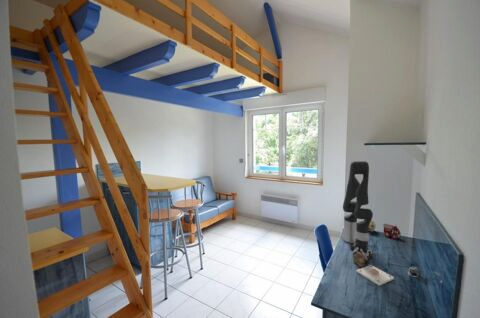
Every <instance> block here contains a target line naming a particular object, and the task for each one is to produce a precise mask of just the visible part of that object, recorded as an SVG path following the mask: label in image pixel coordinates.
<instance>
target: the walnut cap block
mask: <svg viewBox="0 0 480 318" xmlns="http://www.w3.org/2000/svg"><path fill="white" fill-rule="evenodd" d="M365 260H366V258H365V256H364V255H363V254H361V253H360V252H358V251H357V252H356V253H355V254H354V258H353V263H354V264H355V263H356V265H357V266H359V267H361V268H364V267H366V266H367V265H365Z"/></svg>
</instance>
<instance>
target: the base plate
mask: <svg viewBox="0 0 480 318" xmlns="http://www.w3.org/2000/svg"><path fill="white" fill-rule="evenodd" d="M356 273H358V274H359V275H361V276H362V277H364V278H365V279H368V280H369V281H371V282H372V283H374V284H376V285H377V286H379V287H380V286H382V285H384V284H387V283H388V282H391V281H393V280H395V278H394V276H392V275H391V274H389V273H387V272H385V271H383V270H382V269H380V268H378V267H375V266H374V265H372V264H368V265H366V266H364V267H361V268H358V269H356Z"/></svg>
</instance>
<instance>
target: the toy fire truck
mask: <svg viewBox="0 0 480 318" xmlns="http://www.w3.org/2000/svg"><path fill="white" fill-rule="evenodd" d="M382 227H383V235H384V236H385V238H389V237H391V239H393V240H397V239H398V238H401V235H402V234H401V231H400V229H399V228H398V226H397V225H392V224H389V223H383V226H382Z"/></svg>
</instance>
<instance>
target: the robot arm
mask: <svg viewBox="0 0 480 318" xmlns="http://www.w3.org/2000/svg"><path fill="white" fill-rule="evenodd" d="M356 175H362V179H361V182H359V180H358V179H357V178H356ZM369 175H370V166H369V162H367V160H366V161H364V160H363V161H362V160H361V161H360V160H358V161H352V162H351V163H350V166H349V175H348V182H347V185H346V191H345V196H344V200H343V205H342V211H343V212H345V213H350V214H346V215H345V216H344V219H343V220H344V221H343V222H344V223H343V227H342V238H341V239H342V240H343V241H344V242H346V243H349V244H350V249H349V250H350V251H351V252H352V259H354V254H355V253H358V252H360V253H361V254H363V255H364V256H365V258H366V260H365V265H366V266H369V265H370V261H373V260H374V257H373V256H374V251H373V249H372V250H371V249H369V248H368V247H369V237H370V236H369V235H370V233H369V232H370V231H369V225H370V222H371V220H372V221H373V217H374V213H373V211H372V210H371V209H370V208H364V207H362V206H367V205H369V203H370V202H369V191H368V190H369V178H370V177H369ZM355 198H356V201H354V200H355ZM358 220H361V221H358Z"/></svg>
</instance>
